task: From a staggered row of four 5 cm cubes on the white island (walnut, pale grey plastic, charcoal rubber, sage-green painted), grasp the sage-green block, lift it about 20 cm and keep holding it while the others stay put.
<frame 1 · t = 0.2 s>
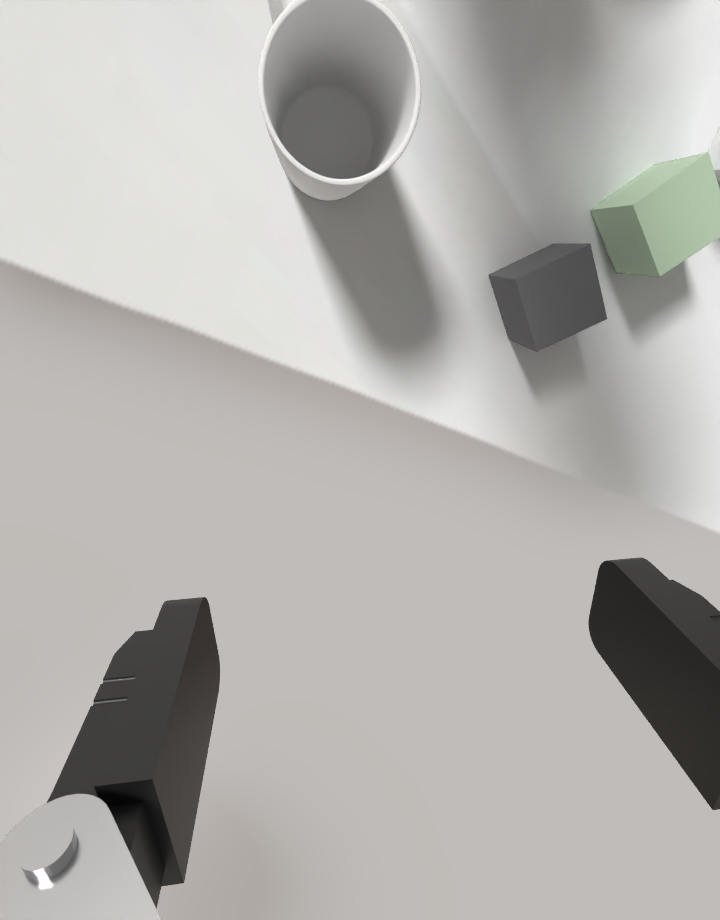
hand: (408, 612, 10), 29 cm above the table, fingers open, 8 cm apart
sage block: (634, 220, 35), on the table
charcoal block: (529, 292, 37), on the table
mug: (315, 118, 31), on the table
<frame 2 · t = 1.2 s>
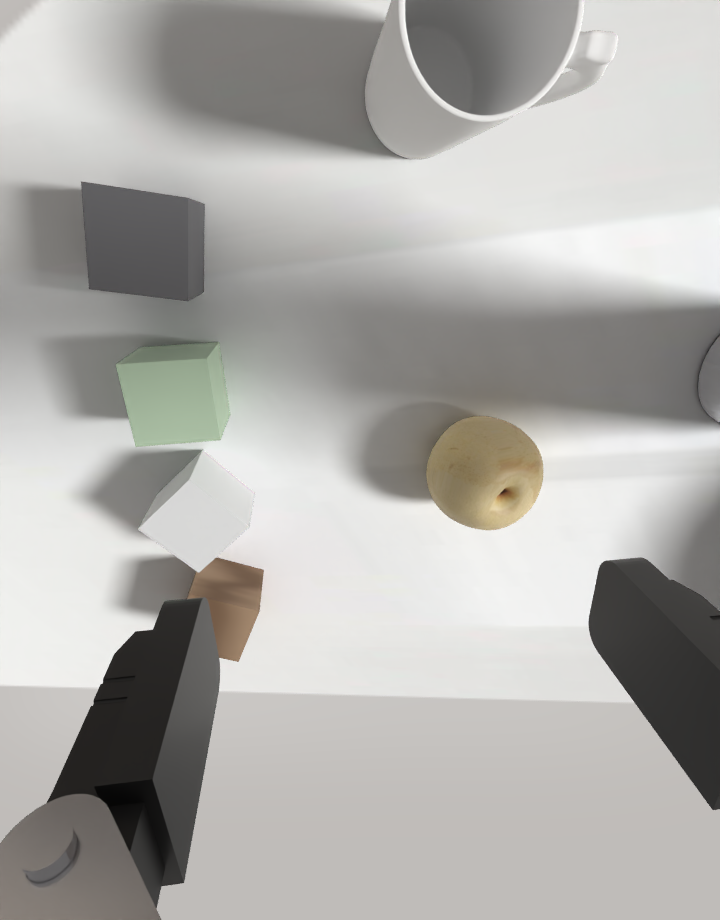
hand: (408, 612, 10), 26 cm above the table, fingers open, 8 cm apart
walnut block: (224, 585, 41), on the table
sage block: (187, 381, 34), on the table
grey block: (206, 492, 37), on the table
charcoal block: (161, 243, 30), on the table
mug: (444, 102, 29), on the table
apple: (468, 454, 38), on the table
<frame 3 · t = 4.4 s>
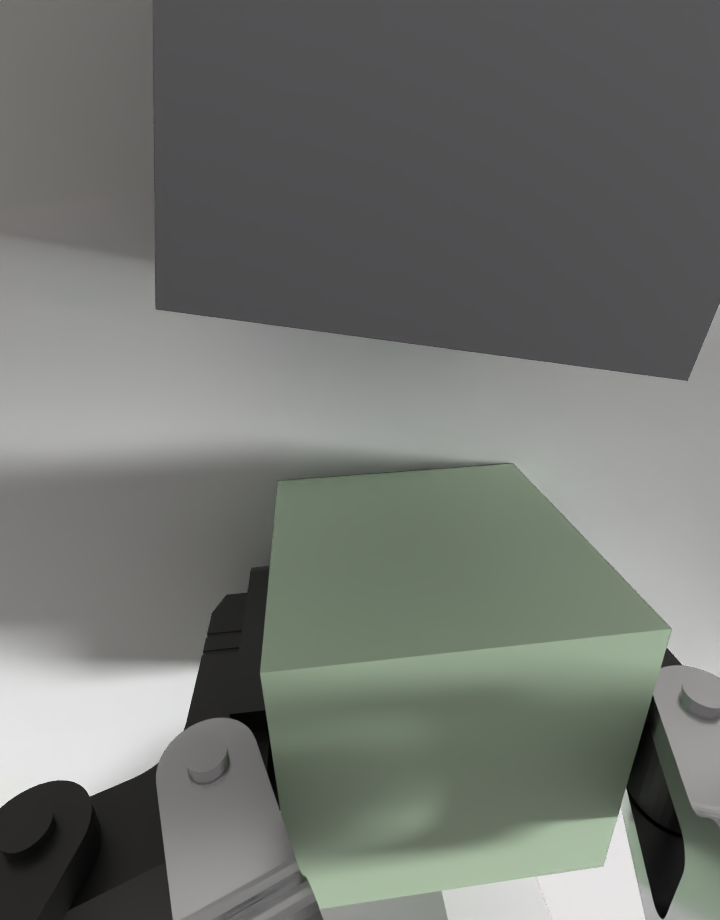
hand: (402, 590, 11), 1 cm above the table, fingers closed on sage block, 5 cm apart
sage block: (397, 570, 11), on the table, touching gripper
grey block: (393, 802, 15), on the table
charcoal block: (396, 134, 8), on the table
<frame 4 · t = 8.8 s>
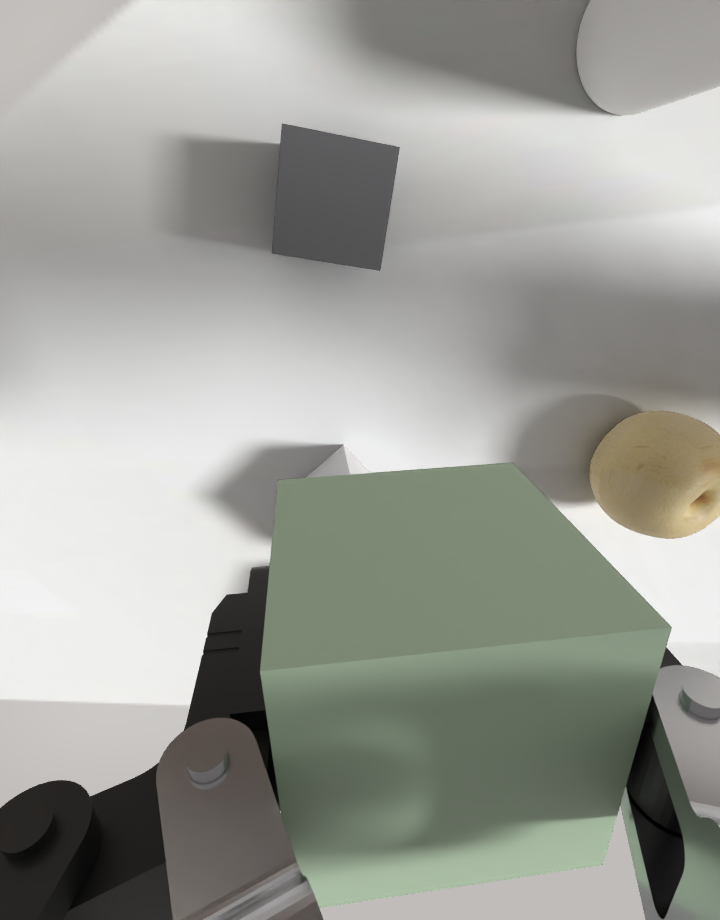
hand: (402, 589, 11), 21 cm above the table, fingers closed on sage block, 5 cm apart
sage block: (397, 569, 11), point 20 cm above the table, touching gripper
grey block: (340, 493, 33), on the table
charcoal block: (328, 208, 26), on the table
mug: (661, 50, 25), on the table
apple: (626, 453, 35), on the table
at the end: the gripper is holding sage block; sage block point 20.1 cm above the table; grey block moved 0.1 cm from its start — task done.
